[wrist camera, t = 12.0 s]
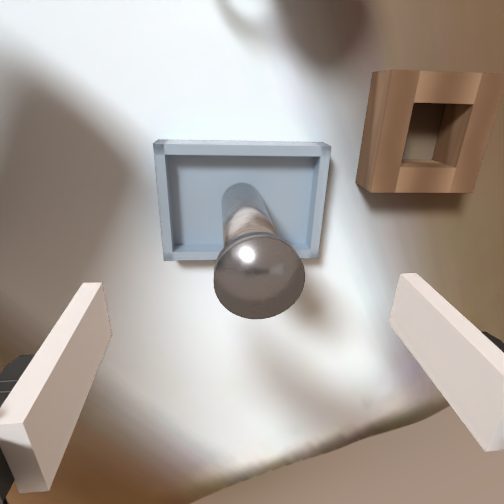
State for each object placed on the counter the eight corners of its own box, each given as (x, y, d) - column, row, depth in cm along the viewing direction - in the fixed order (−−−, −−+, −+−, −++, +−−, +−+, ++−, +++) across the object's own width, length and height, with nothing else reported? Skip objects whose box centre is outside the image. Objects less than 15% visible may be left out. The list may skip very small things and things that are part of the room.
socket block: (355, 182, 31) (370, 192, 28) (372, 72, 28) (392, 69, 24) (447, 183, 32) (472, 192, 29) (476, 76, 28) (508, 74, 25)
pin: (210, 179, 29) (206, 246, 17) (265, 172, 29) (303, 233, 17) (219, 231, 31) (220, 325, 19) (270, 224, 32) (306, 312, 19)
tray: (167, 248, 33) (164, 260, 30) (158, 139, 28) (153, 143, 26) (311, 247, 34) (317, 258, 32) (322, 142, 30) (331, 146, 27)
